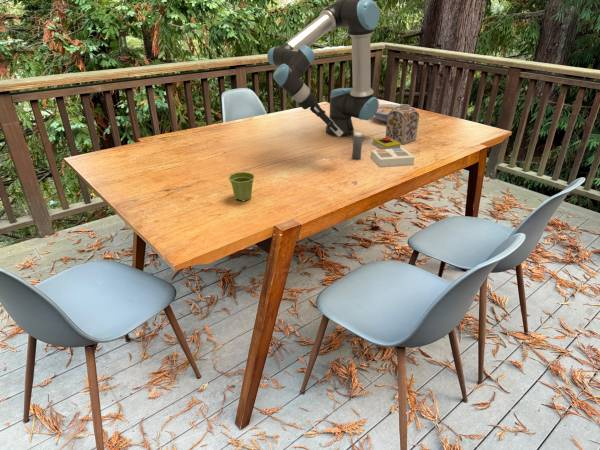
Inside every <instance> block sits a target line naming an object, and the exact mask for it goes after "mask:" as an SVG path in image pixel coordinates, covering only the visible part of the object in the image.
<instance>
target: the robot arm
mask: <svg viewBox="0 0 600 450" xmlns="http://www.w3.org/2000/svg"><path fill="white" fill-rule="evenodd" d="M379 22H380V9H379V6H378V5H377V3H376V2H375V1H374V0H336V1H334V2H333V3H331V4H329V5H328V6H326V7H325V8H324V9H323V10H322V11H320V13H319V15H318V17H316V18H314V20H312V21H311V22H310V23H308V24H307V25H306V26H305V27H304V28H302V29H301V30H299V31H298V32H297V33H296V34H295V35H293V36H292V37H291V38H289V39H288V40H287V41H286V42H284V43H283V44H282V45H280V46H275V47H271V48H269V50H268V52H267V56H266V57H267V61H268V63H269V64H270V65H271V66H275V67H277V68H276V69H275V71H273V75H272V77H273V80H274V81H275V82H276V83H277V84H278V86H279V87H280V88H282V89H283V90H284V91H285V92H286V93H287V94H288V95H289V96H290V98H291V100H292V101H295V102H296V103H298V105H299V107H301V108H302V109H303V110H308V109H309V110H310V111H311V112H312V113H313V114H314V115H315V116H316V117H318V118H320V119H321V120H322V121H323V123H325V124H326V127H325V133H326V134H327V135H329V136H331V137H338V138H340V137H341V138H342V137H344V138H345V137H351V136H352V135H354V129H355V128H354V125H353V120H352V118H354V119H358V120H361V121H362V120H363V121H370V120H371V119H373V118H374V117H375V114H376V112H377V110H378V106H379V104H380V102H379V99H378V98H377V97H376V96H375V95H374V93H375V92H374V89H373V88H372V87H371V84H372V83H371V81H372V79H371V73H372V71H371V70H372V69H371V61H372V60H371V36H372V35H373V34H374V32H375V31H374V29H376V28H377V27H378V25H379ZM337 28H347V35H348V36H349V37H350V38H351V67H352V70H351V71H352V87H339V88H334V89H332V90H331V92H330V96H329V115H327V113H326V111H325V110H323V108H321V106H320V104H319V103H318V102H316V101H317V95H316V94H315V93H314V92H313V91H312V90H311V89H310V88H309V86H307V85H306V83H305V82H303V80H301V78H302V77H303V76H304V74H305V73H306V72H307V70H308V69H309V68H310V66H311V65H312V63H313V62H314V61H315V58H316V54H315V52H314V51H313V49H312V48H311V46H312V45H314V43H316V42H317V41H318V40H320V39H321V38H322V37H323V36H324V35H326V34H327V33H328V32H333V31H335V30H336V29H337Z"/></svg>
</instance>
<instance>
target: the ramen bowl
mask: <svg viewBox="0 0 600 450" xmlns="http://www.w3.org/2000/svg"><path fill="white" fill-rule="evenodd" d="M401 104H402V103H399V104H397V103H396V104H395V103H394V104H393V103H379V106H378V110H377V112H376V114H375V115H374V117H375V118H377V119H378V120H380V121H382V122H384V123H386V124H387V119H388V113H389V112H390V111H391V110H392V109H393V108H395V107H400V105H401Z"/></svg>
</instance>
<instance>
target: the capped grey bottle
mask: <svg viewBox="0 0 600 450" xmlns="http://www.w3.org/2000/svg"><path fill="white" fill-rule="evenodd" d="M363 134H364V132H361V131H355V132H354V133H353V139H352V140H353V141H352V151H351V152H352V155H351V159H352V160H354V161H358V160H359V161H360V160H361V157H362V148H363V147H362V145H363V136H364V135H363Z"/></svg>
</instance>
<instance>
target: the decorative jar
mask: <svg viewBox="0 0 600 450" xmlns="http://www.w3.org/2000/svg"><path fill="white" fill-rule="evenodd" d="M400 104H401V105H400ZM400 104H399V105H400V107H395V108H393V109H392V110H391V111H390V112H389V113H388V119H387V123H386V127H385V136H384V137H388V138H390V139H392V140H395V141H397V142H399V143H400V145H402V146H403V145H405V144H409V143H411V142H415V141H416V138H417V133H418V128H419V122H420V121H419V120H420V113H419V112H418V110H416V109H415V108H414V107H411V106H410V104H407V103H406V104H405V103H400Z"/></svg>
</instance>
